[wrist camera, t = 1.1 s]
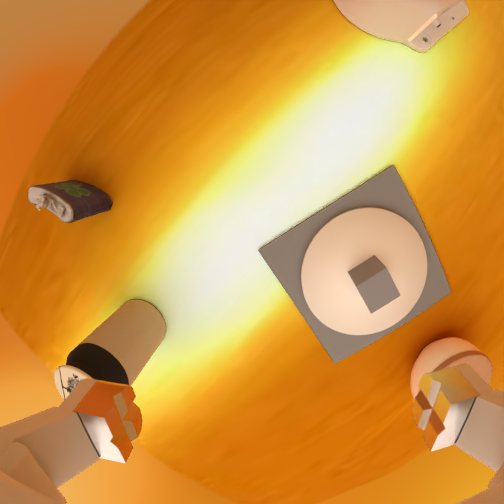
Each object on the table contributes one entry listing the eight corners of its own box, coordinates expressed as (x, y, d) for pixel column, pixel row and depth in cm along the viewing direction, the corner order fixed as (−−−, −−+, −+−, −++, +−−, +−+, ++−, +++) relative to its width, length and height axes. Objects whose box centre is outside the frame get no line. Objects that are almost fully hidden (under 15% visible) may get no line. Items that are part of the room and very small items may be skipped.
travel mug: (172, 312, 42) (114, 390, 25) (160, 352, 45) (108, 432, 27) (125, 289, 42) (50, 351, 25) (116, 330, 44) (52, 397, 27)
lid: (390, 181, 34) (408, 184, 28) (440, 289, 37) (459, 307, 31) (275, 254, 38) (273, 269, 32) (339, 351, 41) (345, 377, 35)
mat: (392, 165, 34) (393, 165, 33) (450, 291, 37) (451, 292, 37) (258, 249, 39) (258, 250, 38) (334, 362, 42) (334, 363, 41)
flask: (65, 193, 40) (16, 202, 29) (69, 174, 39) (20, 180, 28) (110, 214, 40) (63, 230, 29) (115, 195, 39) (68, 205, 28)
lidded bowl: (458, 379, 41) (484, 419, 30) (395, 394, 42) (413, 441, 32) (473, 317, 38) (509, 352, 27) (404, 331, 39) (432, 375, 29)
